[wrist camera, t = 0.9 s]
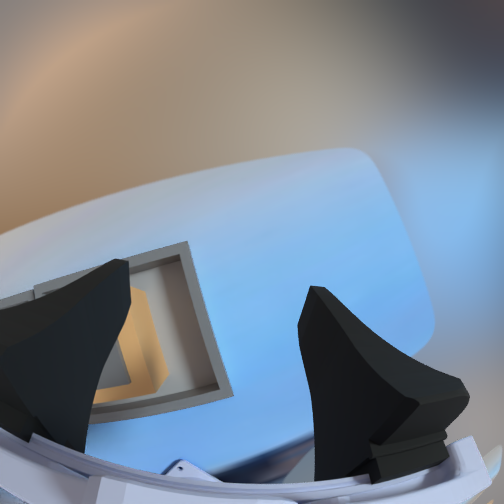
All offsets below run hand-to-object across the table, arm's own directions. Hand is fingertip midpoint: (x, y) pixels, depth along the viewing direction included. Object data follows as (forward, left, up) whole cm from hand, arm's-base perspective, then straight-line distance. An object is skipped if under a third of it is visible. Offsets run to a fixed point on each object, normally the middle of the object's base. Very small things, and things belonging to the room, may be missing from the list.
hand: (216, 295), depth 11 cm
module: (-7, +3, -12) cm, 14 cm away
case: (-7, +3, -13) cm, 15 cm away
